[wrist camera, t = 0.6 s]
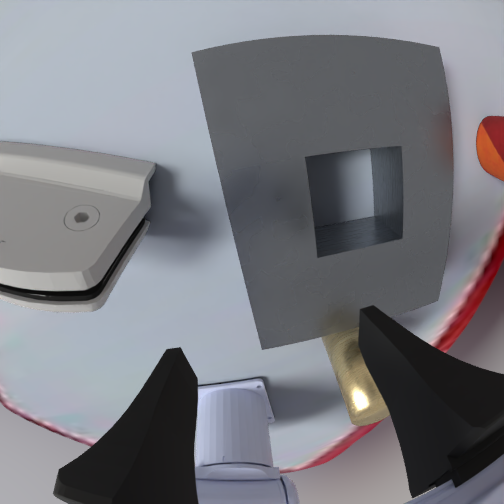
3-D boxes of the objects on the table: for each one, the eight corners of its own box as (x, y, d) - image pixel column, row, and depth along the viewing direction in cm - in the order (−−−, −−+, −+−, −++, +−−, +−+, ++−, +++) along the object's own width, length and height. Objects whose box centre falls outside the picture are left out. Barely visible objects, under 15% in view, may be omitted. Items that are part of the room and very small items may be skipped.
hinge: (161, 164, 16) (93, 295, 9) (155, 220, 19) (109, 345, 12) (-11, 140, 13) (-88, 219, 6) (-2, 185, 16) (-64, 266, 9)
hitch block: (413, 274, 21) (437, 300, 18) (257, 313, 22) (262, 349, 18) (404, 55, 13) (439, 47, 10) (200, 68, 14) (191, 52, 10)
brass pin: (361, 338, 24) (397, 414, 16) (321, 349, 24) (349, 431, 16) (363, 307, 22) (409, 386, 14) (320, 318, 22) (354, 406, 14)
